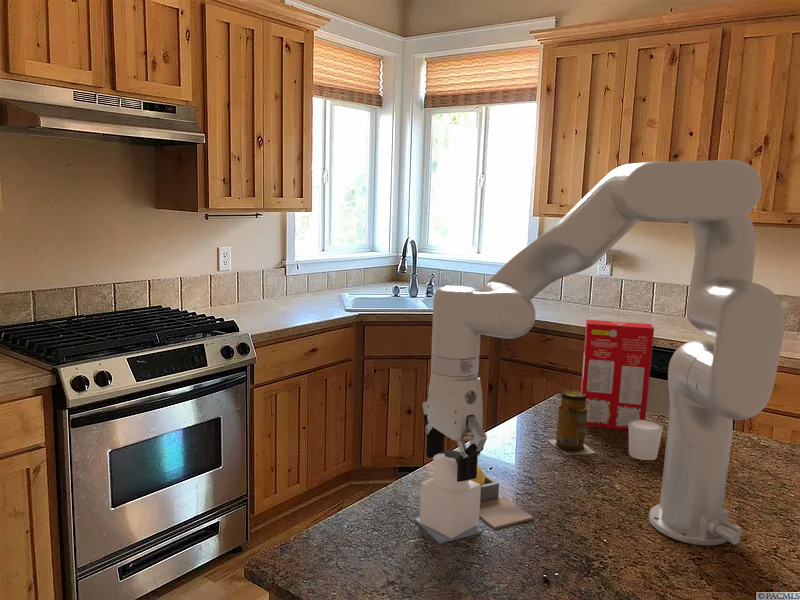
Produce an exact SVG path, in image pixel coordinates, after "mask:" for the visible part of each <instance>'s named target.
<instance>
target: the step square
mask: <svg viewBox="0 0 800 600" xmlns="http://www.w3.org/2000/svg"><path fill="white" fill-rule="evenodd" d="M479 519H481V520H482V521H483V522H485V524H487V525H488V526H490V528H492V529H493V530H497V529H501V528H505V527H508V526H509V527H510V526H513V525H516V524H521V523H524V522H529V521H532V520H534V517H533V516H532V515H531V514H530V513H528V512H527V511H525V510H524V509H523V508H521V507H520V506H518V505H517V504H516V503H514V502H513V501H511V500H509V498H507V497H505V496H503V497H498V499H494V500H490V501H486V502H481V503H480V512H479Z"/></svg>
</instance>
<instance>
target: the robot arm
mask: <svg viewBox="0 0 800 600" xmlns="http://www.w3.org/2000/svg"><path fill="white" fill-rule="evenodd" d="M762 183H763V182H762V180H761V176H760V175H759V172H757V170H756V169H755V168H754V167H753V166H752V165H750V164H749V163H746V161H745V162H744V161H742V160H739V159H720V160H718V159H716V160H694V161H643V162H642V161H641V162H634V163H633V162H632V163H626V164H622V165H619V166H618V167H616V168H614V169H612V170H611V171H610V172H608V173H607V174H606V175H605V176H604V177H603V178H602V179H601V180H599V182H598V183H596V185H595V186H594V187H592V188H591V190H589V192H587V193H586V194H585V195H584V196H583V197H582V198H581V199H580V200H579V201H578V202H577V203H576V204H575V205H574V206H573V207H572V208H571V209H570V210H569V211H568V212H567V213H566V214H565V215H564V216H563V217H562V218H560V219H559V220H558V221H557V222H556V223H555V224H554V225H553V226H552V227H551V228H550V229H548V230H547V231H546V232H544V233H542V235H540V236H538V237H537V238H536V239H535V240H534V241H533V242H531V243H530V244H529V245H527V246H526V247H525V248H523V249H522V250H520V251H519V252H517V254H515V255H514V256H513V257H512V258H511V259H509V261H507V262H506V263H505V264H504V265H503V266H502V267H501V268H499V270H498V271H497V272H496V273H494V275H493V276H492V277H491V278H489V280H487V282H486V283H485V284H484V285H483V286H482V288H481V289H480V291H479V290H478V288H474V287H471V286H467V285H447V286H446V285H445V286H441V287H439V288H437V289H436V290H435V292H434V295H433V303H432V304H433V306H432V330H431V334H432V335H431V357H430V358H431V359H430V361H431V362H430V377H429V384H428V390H427V391H428V392H427V400H426V401H424V402H422V410H423V414H424V415H423V420H424V422H425V427H424V429H425V430H424V431H425V433H426V447H425V456H426V458H428V459H432V458H433V457H434V456H435V455H436V454H437V453H439V452H442V451H445V440H446V439H445V436H446V437H447V438H449V439H451V440H452V441H454V442H456V443H457V445H458V448H459V452H461V455H462V456H459V458H458V480H459V481H460V482H462V481H467V480H471V479H475V478H476V477H477V465H478V459H479V458H478V457H479V456H480V455H481V453H482V451H483V450H484V446H485V444H486V441H487V440H488V435H487V434H486V432H485V431H484V430H483V429H484V428H483V425H484V424H483V423H484V411H483V410H484V406H483V402H484V401H483V390H482V383H481V377H479V371H480V370H479V368H480V367H479V366H480V354H481V353H480V349H481V335H483V336H490V337H494V338H500V339H516V338H520V337H522V336H524V335H527V334H528V333H529V331H530V330H531V329H532V328H533V326H534V324H535V322H536V317H537V316H536V315H537V314H536V308H535V306H534V304H533V301H532V300H533V299H534V298H535V297H536V296H538V294H539V293H540V292H541V291H542V290H544V289H545V288H547V287H548V286H549V285H551V284H553V283H555V282H556V281H558V280H560V279H562V278H566V277H568V276H571V275H575V274H578V273H580V272H583V271H585V270H587V269H589V268H591V267H592V266H594V265H595V264H596V263H597V262H598V261H599V260H600V259H601V258H602V257H604V255H605V254H607V253H608V251H609V250H610V249H612V248H613V246H615V245H616V244H617V243H618V242H619V241H620V240H621V239H622V238H623V237H624V236H625V235H626V234H627V233H628V232H629V231H630V230H632V229H633V228H634V227H635V226H636V225H637V224H638V223H640V222H643V223H644V222H647V223H688V224H689V226H690V228H691V230H692V232H693V237H694V258H693V265H692V272H691V275H690V276H691V277H690V284H689V290H688V296H687V300H686V302H687V303H686V316H687V318H688V319H687V320H688V321H689V323H690V324H691V325H692V326H693V327H694V328H696V329H697V330H699V331H700V332H703V333H705V334H707V335H708V336H711V337H714V338H715V339H714V340H715V341H713V342H712V341H709V340H703V339H701V340H700V339H697V340H696V339H695V340H691V341H688V342H685V343H684V344H682V345H680V346H679V347H678V348H677V349H676V350H674V353H673V354H672V356H671V358H670V361H669V363H668V367H667V368H668V370H667V382H668V383H667V384H668V398H669V399H668V400H669V405H668V406H669V410H668V411H669V412H668V424H667V433H666V441H665V442H666V443H665V452H664V459H663V460H664V462H663V463H664V464H663V471H662V480H661V481H662V482H661V492H660V500H659V501H660V502H659V503H658V504H656V505H654V506H652V507H651V508H650V509H649V512H648V520H649V522H650V524H651V525H652V526H653V528H655V529H656V530H657V531H658V532H660V533H661V534H663V535H665V536H667V537H669V538H671V539H674V540H676V541H680V542H683V543H687V544H691V545H695V546H718V545H722V544H725V543H727V542H728V543H730V544H731V545H733V546H734V545H737V544H739V542H740V541H741V535H742V534H743V528H742V527H741V526H739V525H737V524H735V523H732V522H731V521H730V510H728V509H726V508H724V506H725V505H724V504H725V499H726V498H725V496H726V490H727V488H726V487H727V481H728V480H727V479H728V470H729V463H730V461H729V460H730V453H731V447H732V439H733V420H734V421H745V420H749V419H752V418H753V417H755V416H758V414H759V413H761V412H762V411H763V409H765V407H766V405H767V404H768V403H769V401H770V399H771V396H772V393H773V390H774V386H775V382H776V378H777V377H776V375H777V371H778V366H779V360H780V355H781V352H782V351H781V350H782V345H783V340H784V339H783V338H784V333H785V326H786V325H785V323H786V321H785V320H786V319H785V318H786V317H785V311H784V308H783V305H782V303H781V300H780V298H779V297H778V296H777V294H775V292H773V290H772V289H770V288H768V287H766V286H764V285H762V284H760V283H756V282H753V277H754V269H755V259H756V249H757V238H756V232H755V231H756V230H755V227H754V223H753V222H752V219H751V216H750V215H749V213H750V212H751V211H752V210H753V209H754V208H755V207H756V206H757V205H758V202H759V201H760V198H761V196H762V192H763V184H762ZM466 434H467V435H466ZM462 435H464V436H462ZM465 442H469V444H470V445H469V446H468V447H467V446H466V443H465Z"/></svg>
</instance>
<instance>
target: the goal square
mask: <svg viewBox="0 0 800 600" xmlns="http://www.w3.org/2000/svg"><path fill="white" fill-rule="evenodd" d="M419 520H420V516H418V517H415V518H414V521H415V522H416V523H417V524H418V525H419V527H421V528H422V529H423V530H424V531H425V532H426V533H427V534H428V535H430V536H431V537H432V538H433V540H435V541H436V542H437V543H438V544H439V545H440V544H445V543H447V542H452V541H457V540H459V539H463V538H468V537H470V536H474V535H478V534H482V533H483V532H482V531H483V530H482V529H481V528H480V527H478V525H477V526H475V527H473V528H471V529H469V530H467V531H465V532H463V533H462V534H460V535H458V536H456V537H454V538H452V539H450V538H448V537H446V536H444V535H442V534H440V533H438V532H437V531H435V530H433V529H431V528H429V527H427V526H425V525H423V524H421V523H420V521H419Z"/></svg>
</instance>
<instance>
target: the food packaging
mask: <svg viewBox="0 0 800 600" xmlns="http://www.w3.org/2000/svg"><path fill="white" fill-rule="evenodd" d="M584 333H585V334H584V345H583V346H584V349H583V359H582V371H581V372H582V373H581V385H580V392H582V393H584V394H585V395H586V405H585V406H586V407H587V418H586V427H594V426H597V427H596V428H603V427H607V428H606V429H613V428H616V429H615V430H622V429H629V421H632V420H647V419H646V417H647V407H648V398H649V396H648V394H649V387H650V386H649V385H650V376H651V367H652V366H651V364H652V355H653V345H654V333H655V327H654V326H653V324H651V323H641V322H627V321H615V320H614V321H610V320H599V319H598V320H596V319H586V323H585V332H584Z"/></svg>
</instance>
